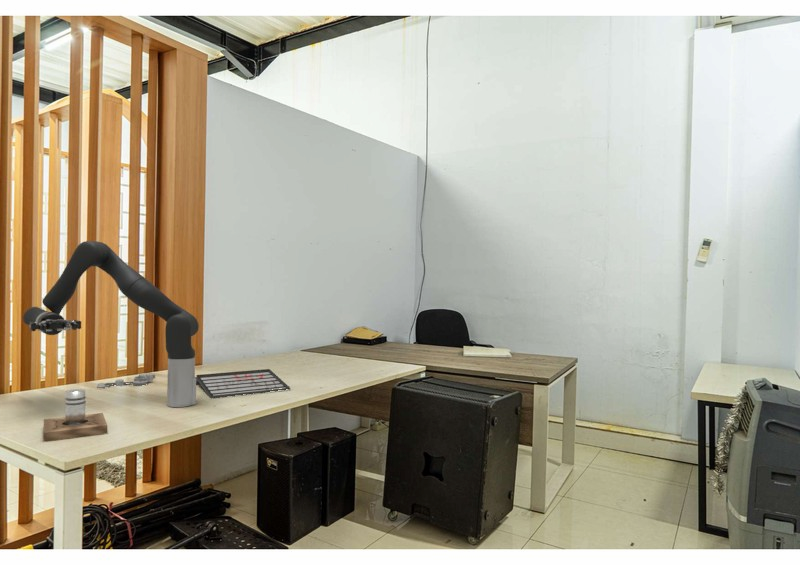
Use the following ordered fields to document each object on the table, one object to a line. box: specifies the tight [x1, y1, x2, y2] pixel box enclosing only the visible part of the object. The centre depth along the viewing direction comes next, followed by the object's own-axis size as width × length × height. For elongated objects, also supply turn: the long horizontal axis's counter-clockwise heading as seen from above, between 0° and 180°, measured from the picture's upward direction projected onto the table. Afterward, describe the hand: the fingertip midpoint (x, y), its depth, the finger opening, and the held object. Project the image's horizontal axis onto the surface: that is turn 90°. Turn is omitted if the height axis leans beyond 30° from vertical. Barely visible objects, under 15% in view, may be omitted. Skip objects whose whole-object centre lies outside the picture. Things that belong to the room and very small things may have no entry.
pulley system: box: [96, 372, 156, 389], centre depth 232 cm, size 27×5×15 cm
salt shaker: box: [64, 388, 87, 425], centre depth 165 cm, size 5×5×12 cm
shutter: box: [195, 368, 291, 400], centre depth 230 cm, size 32×7×31 cm
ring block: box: [43, 412, 108, 442], centre depth 165 cm, size 16×16×2 cm
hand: (60, 327), depth 175 cm, fingers open, 8 cm apart
